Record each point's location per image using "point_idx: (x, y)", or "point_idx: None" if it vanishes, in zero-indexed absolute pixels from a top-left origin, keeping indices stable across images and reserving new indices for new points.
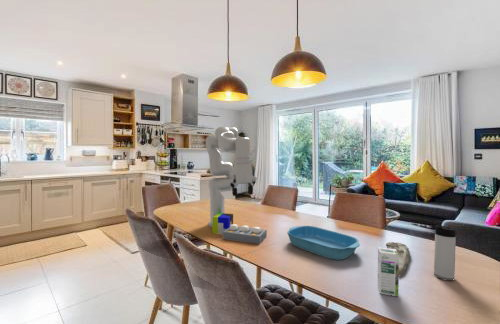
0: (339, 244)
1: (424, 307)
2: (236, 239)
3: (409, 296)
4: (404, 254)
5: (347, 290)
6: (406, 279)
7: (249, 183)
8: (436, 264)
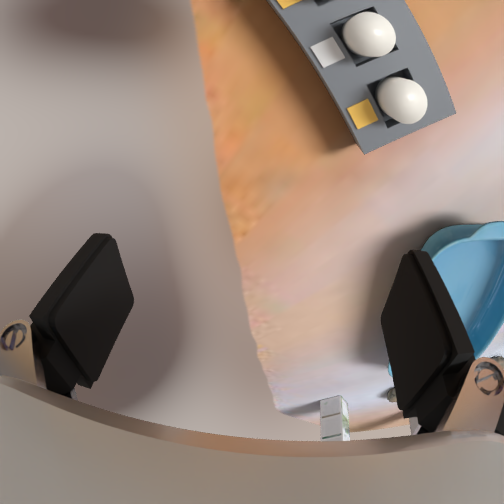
0: (478, 315)
1: None
2: (296, 40)
3: None
4: None
5: (295, 385)
6: (385, 400)
7: (466, 425)
8: (415, 421)
